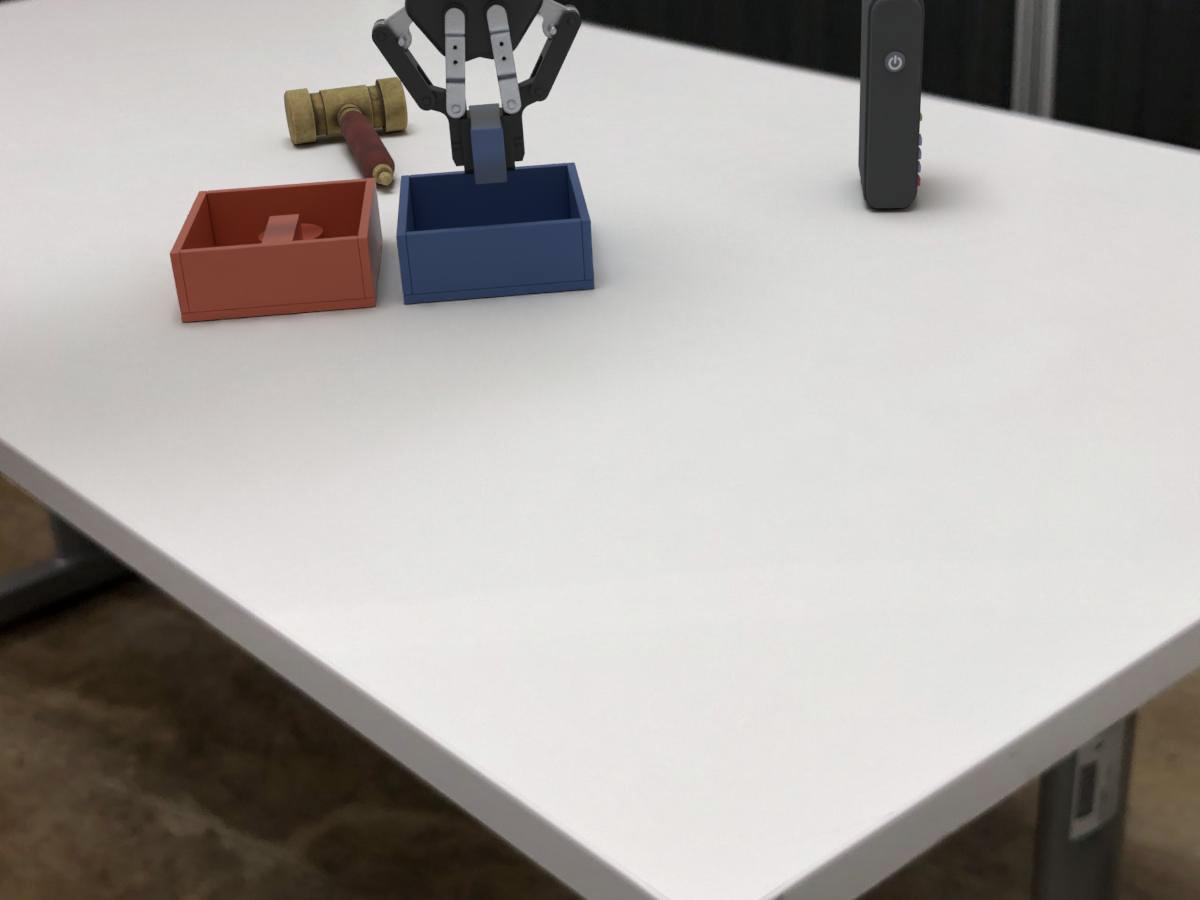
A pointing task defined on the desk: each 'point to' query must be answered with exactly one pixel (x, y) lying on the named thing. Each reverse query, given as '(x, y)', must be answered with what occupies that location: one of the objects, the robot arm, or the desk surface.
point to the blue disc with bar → (487, 144)
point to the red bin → (278, 251)
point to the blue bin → (493, 234)
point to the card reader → (890, 101)
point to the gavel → (351, 120)
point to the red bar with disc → (289, 230)
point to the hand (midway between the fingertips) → (489, 168)
